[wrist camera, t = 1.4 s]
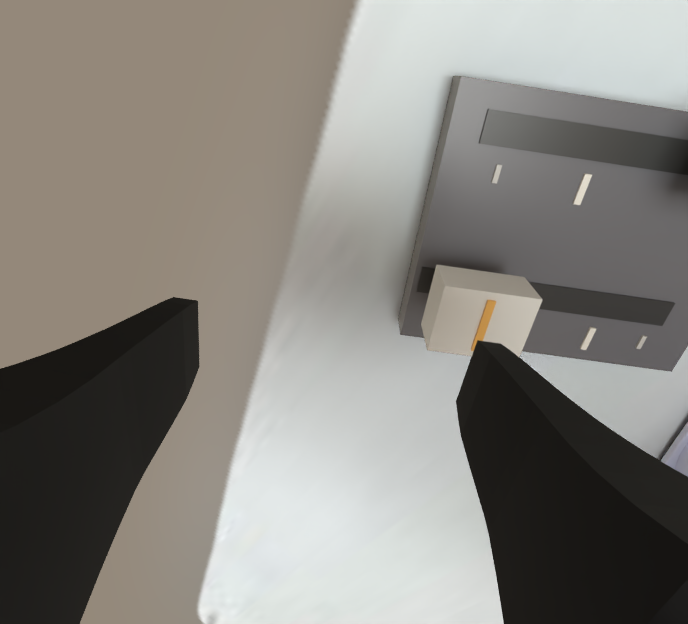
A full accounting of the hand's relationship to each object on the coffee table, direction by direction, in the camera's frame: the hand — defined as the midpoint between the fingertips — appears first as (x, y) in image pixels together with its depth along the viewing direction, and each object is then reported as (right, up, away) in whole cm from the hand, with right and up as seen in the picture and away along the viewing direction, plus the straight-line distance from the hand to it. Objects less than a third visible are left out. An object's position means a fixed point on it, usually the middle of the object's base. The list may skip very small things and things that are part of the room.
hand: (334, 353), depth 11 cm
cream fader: (+6, +2, +8) cm, 10 cm away
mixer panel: (+10, +5, +8) cm, 14 cm away
